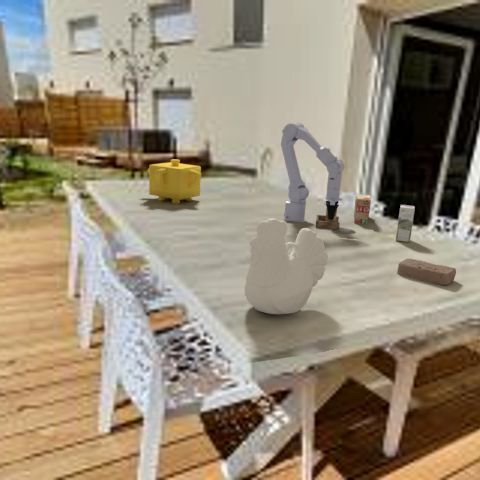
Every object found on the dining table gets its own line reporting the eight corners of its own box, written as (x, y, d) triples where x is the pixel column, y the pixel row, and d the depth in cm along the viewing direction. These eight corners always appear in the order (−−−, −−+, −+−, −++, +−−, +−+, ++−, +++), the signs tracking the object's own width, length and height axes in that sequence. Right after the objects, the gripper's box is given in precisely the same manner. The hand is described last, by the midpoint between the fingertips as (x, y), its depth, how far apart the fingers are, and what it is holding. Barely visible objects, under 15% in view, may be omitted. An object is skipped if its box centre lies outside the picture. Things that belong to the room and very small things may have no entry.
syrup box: (410, 239, 213) (415, 205, 209) (409, 243, 207) (414, 208, 204) (396, 237, 215) (400, 204, 211) (395, 241, 209) (400, 206, 205)
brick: (395, 274, 169) (397, 261, 168) (405, 269, 175) (407, 256, 174) (446, 288, 159) (448, 273, 158) (455, 281, 165) (457, 268, 164)
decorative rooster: (255, 326, 125) (261, 227, 118) (233, 301, 139) (237, 212, 132) (343, 315, 134) (354, 223, 127) (314, 293, 148) (322, 209, 141)
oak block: (325, 222, 226) (326, 208, 224) (325, 220, 230) (326, 206, 229) (335, 223, 226) (337, 209, 224) (335, 221, 230) (336, 206, 228)
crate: (315, 228, 224) (316, 220, 223) (316, 222, 236) (316, 214, 235) (338, 230, 222) (339, 222, 221) (338, 223, 234) (338, 216, 233)
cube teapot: (217, 200, 274) (219, 160, 268) (182, 208, 250) (183, 165, 244) (167, 191, 292) (167, 154, 286) (130, 198, 267) (129, 157, 262)
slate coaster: (331, 234, 215) (331, 232, 215) (331, 228, 225) (331, 227, 225) (356, 236, 214) (356, 235, 214) (354, 230, 223) (354, 229, 223)
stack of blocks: (353, 215, 255) (356, 190, 252) (366, 216, 254) (369, 191, 251) (354, 224, 235) (356, 198, 231) (367, 226, 234) (371, 199, 230)
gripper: (343, 191, 216) (340, 222, 220) (342, 185, 230) (339, 215, 234) (326, 190, 217) (323, 221, 221) (326, 184, 231) (323, 214, 235)
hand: (330, 218), depth 228 cm, fingers closed on oak block, 4 cm apart
